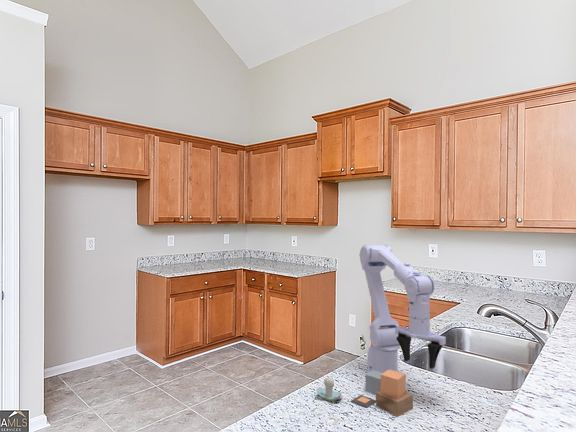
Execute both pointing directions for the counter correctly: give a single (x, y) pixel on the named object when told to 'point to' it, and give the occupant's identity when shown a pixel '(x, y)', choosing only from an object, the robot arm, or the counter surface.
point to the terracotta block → (393, 383)
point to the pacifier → (329, 391)
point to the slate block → (373, 382)
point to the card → (363, 401)
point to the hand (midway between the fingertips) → (419, 363)
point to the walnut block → (394, 403)
